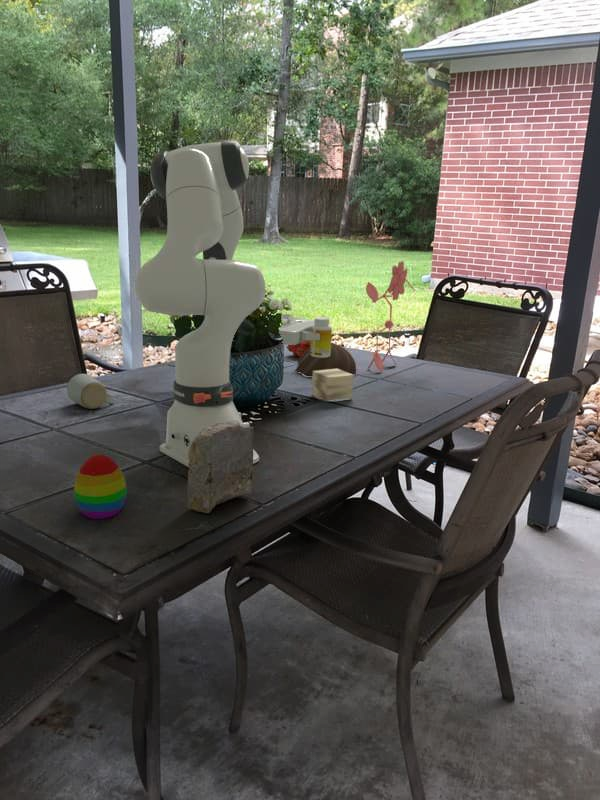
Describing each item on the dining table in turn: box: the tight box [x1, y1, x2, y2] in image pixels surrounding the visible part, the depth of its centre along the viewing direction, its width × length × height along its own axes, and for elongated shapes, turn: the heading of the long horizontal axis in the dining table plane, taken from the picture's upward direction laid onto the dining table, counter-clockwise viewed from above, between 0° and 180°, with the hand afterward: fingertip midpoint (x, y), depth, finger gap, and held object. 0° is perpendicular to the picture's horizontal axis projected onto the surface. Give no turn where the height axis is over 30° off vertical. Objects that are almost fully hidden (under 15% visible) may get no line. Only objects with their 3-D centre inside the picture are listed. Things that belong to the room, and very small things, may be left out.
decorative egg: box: [73, 453, 127, 520], centre depth 108 cm, size 8×8×10 cm
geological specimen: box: [187, 420, 255, 514], centre depth 111 cm, size 11×6×15 cm, turn 141°
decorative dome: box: [295, 342, 357, 376], centre depth 209 cm, size 19×20×10 cm
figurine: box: [365, 260, 416, 373], centre depth 211 cm, size 15×26×35 cm, turn 147°
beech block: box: [311, 369, 354, 401], centre depth 180 cm, size 8×8×7 cm
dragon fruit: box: [286, 340, 311, 357], centre depth 230 cm, size 8×8×12 cm
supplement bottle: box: [310, 316, 333, 358], centre depth 177 cm, size 6×6×10 cm
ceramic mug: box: [66, 373, 116, 410], centre depth 166 cm, size 11×8×8 cm
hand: (324, 334), depth 177 cm, fingers closed on supplement bottle, 5 cm apart
